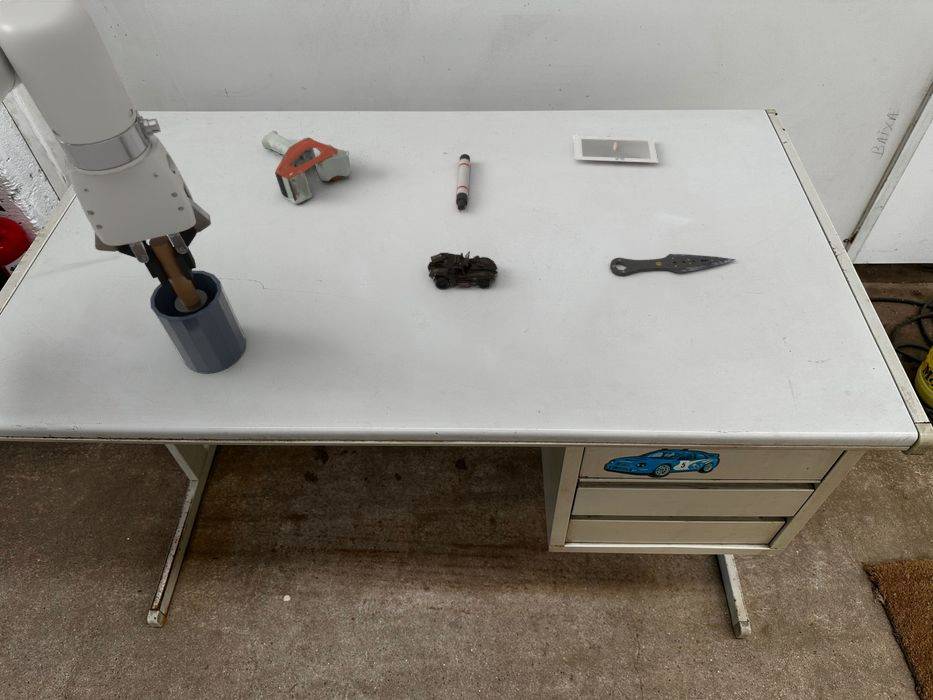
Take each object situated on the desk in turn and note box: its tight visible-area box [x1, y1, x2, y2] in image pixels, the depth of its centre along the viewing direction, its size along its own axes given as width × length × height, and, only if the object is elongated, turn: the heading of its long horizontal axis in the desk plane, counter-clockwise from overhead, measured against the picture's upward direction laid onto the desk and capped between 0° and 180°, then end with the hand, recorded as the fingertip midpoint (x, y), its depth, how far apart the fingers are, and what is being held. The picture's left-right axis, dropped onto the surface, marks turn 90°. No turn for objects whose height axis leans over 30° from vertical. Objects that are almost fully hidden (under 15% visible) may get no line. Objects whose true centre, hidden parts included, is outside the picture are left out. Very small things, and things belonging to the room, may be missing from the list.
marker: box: [455, 153, 471, 213], centre depth 107 cm, size 15×2×2 cm, turn 178°
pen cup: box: [149, 269, 247, 374], centre depth 81 cm, size 9×9×11 cm
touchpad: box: [572, 134, 659, 164], centre depth 113 cm, size 8×15×2 cm, turn 86°
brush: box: [148, 235, 210, 317], centre depth 75 cm, size 4×4×15 cm
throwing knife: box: [609, 253, 737, 277], centre depth 94 cm, size 4×20×1 cm, turn 95°
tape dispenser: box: [261, 130, 351, 205], centre depth 109 cm, size 18×5×20 cm
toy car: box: [427, 250, 498, 290], centre depth 92 cm, size 6×12×4 cm, turn 85°
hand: (177, 274), depth 74 cm, fingers closed on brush, 2 cm apart
